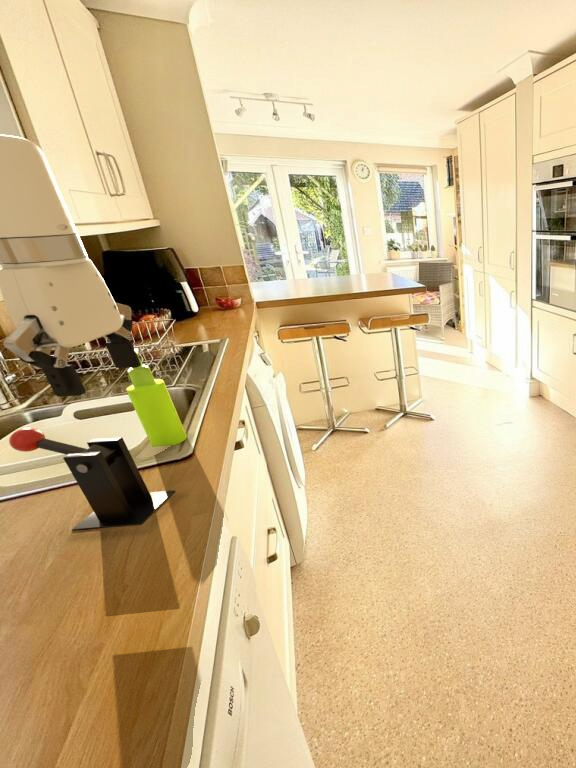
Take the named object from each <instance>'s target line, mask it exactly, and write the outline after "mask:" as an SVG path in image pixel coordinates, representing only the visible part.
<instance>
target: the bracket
mask: <svg viewBox="0 0 576 768" xmlns="http://www.w3.org/2000/svg"><path fill="white" fill-rule="evenodd" d="M86 444H87V446H88V448H90V447H91V446H93V445H99V446H103V447H107V448H111V449H115V450H116V451H115V462H114V463H112V464H111V465H110V466H108V464H107V462H106V460H105V458H104V456H103V455H102V453H101V452H88V453H75V454H68V455H65V456H63V457H62V458H63V459H62V460H64V462H65V464H66V466H67V467H68V470H69V471H70V473H71V474H72V476H73V478H74V480H75V482H76V483H77V486H78V487H79V488H80V490H81V492H82V493H83V495H84V497H85V499H86V501H87V503H88V504H89V506H90V508H91V509H92V512H91V513H90V514H88V515H87V516H86V517H85V518H84V519H82V520H80V522H79V523H77V525H75V526H73V528H72V529H71V531H72V532H74V531H76V532H77V531H85V530H86V531H87V530H97V529H106V528H119V527H130V526H131V527H133V526H140V525H141V526H142V525H143V524H145V522H146V521H147V520H148V519H149V518H151V516H152V515H153V514H154V513H156V511H158V510H159V508H161V506H162V505H163V504H164V503H166V501H168V500H169V499H170V498H171V496H173V495H174V494H175V493H176V490H175V489H173V490H161V491H149V489H148V487H147V485H146V483H145V481H144V478H143V477H142V474H141V473H140V471H139V469H138V467H137V465H136V462H135V460H134V458H133V456H132V455H131V452H130V450H129V448H128V446H127V444H126V442H125V440H124V438H123V437H122V436H121V437H120V436H119V437H107V438H106V437H105V438H92V439H91V440H89V441H87V442H86Z"/></svg>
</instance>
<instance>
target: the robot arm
mask: <svg viewBox="0 0 576 768" xmlns="http://www.w3.org/2000/svg"><path fill="white" fill-rule="evenodd" d="M0 265H1V268H0V292H1V295H2V299H3V301H4V304H5V307H6V310H7V311H8V314H9V316H10V319H11V321H12V324H13V326H14V328H15V329H14V330H13V331H12V332H11V333H10V334H9V335H8V336H7V337H6V338H5V339H4V340H3V343H2V344H3V347H4V348H6V350H8V351H9V352H11V353H12V354H14V355H15V356H16V357H18V358H19V360H20V361H21V362H23V363H27V364H28V365H31V366H32V367H33V368H34V369H36V370H41V371H42V372H43V374H44V376H45V378H46V380H47V382H48V384H49V386H50V388H51V389H52V391H53V393H54V395H55V396H57V397H62V398H63V397H78V396H83V395H84V394H86V391H87V390H86V388H85V386H84V384H83V382H82V381H81V378H80V376H79V373H78V372H77V369H76V368H75V366H74V365H73V364H68V360H69V355H70V352H71V348H74V347H78V346H81V345H83V344H86V343H87V344H88V343H89V342H92V341H95V340H97V339H100V338H104V339H105V340H107V342H105V343H104V344H105V347H106V349H107V351H108V354H109V356H110V358H111V360H112V363H113V364H114V367H115V368H116V369H130V368H137V367H139V366H141V363H142V362H141V363H140V361H139V358H140V357H139V358H138V356H139V355H138V356H137V354H136V351H135V349H136V348H135V347H134V344H133V341H132V340H134V335H133V333H132V329H133V326H134V324H133V323H134V322H133V321H132V307H130V305H127V304H122V303H119V302H116V301H115V299H114V297H113V296H112V293H111V291H110V289H109V288H108V286H107V284H106V282H105V280H104V277H102V275H101V273H100V272H99V270H98V268H97V267H96V265H95V264H94V263H93V261H92V260H91V259H90V258H89V256H88V253H87V251H86V248H85V246H84V242H83V241H82V239H81V237H80V235H79V232H78V230H77V227H76V225H75V223H74V221H73V218H72V216H71V213H70V211H69V208H68V206H67V204H66V202H65V199H64V197H63V195H62V192H61V190H60V188H59V185H58V183H57V181H56V178H55V175H54V174H53V171H52V169H51V166H50V164H49V162H48V159H47V157H46V155H45V153H44V151H43V150H42V149H41V147H40V146H39V145H37V144H36V143H35V142H33V141H31V140H29V139H27V138H23V137H19V136H14V135H7V134H0ZM52 351H54V352H53V355H51V353H52Z"/></svg>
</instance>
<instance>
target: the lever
mask: <svg viewBox="0 0 576 768" xmlns="http://www.w3.org/2000/svg"><path fill="white" fill-rule="evenodd" d="M8 443H9V446H10V447H11V448H12V449H14V450H15V451H18V452H26V453H27V452H33V451H36V450H38V449H42V450H45V451H49V452H55V453H58V454H63V455H65V456H67V455H68V454H75V453H88V452H101V453H102V455H103V456H104V458H105V460H106V462H107V464H108V466H110V465H111V464H112V463H114V462H115V451H116V450H115V449H111V448H107V447H103V446H99V445H93V446H91V447H90V448H89V447H88V448H84V447H80V446H77V445H73V444H68V443H65V442H61V441H56V440H52V439H49V438H46V435H45V434H44V432H43V431H42V430H40V429H37V428H33V427H24V428H21V429H18V430H16V431H14V432H12V434H11V435H10V437H9V439H8Z"/></svg>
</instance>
